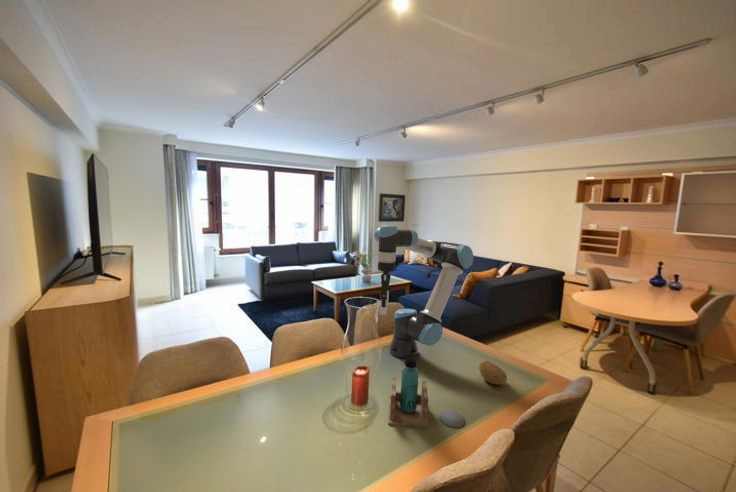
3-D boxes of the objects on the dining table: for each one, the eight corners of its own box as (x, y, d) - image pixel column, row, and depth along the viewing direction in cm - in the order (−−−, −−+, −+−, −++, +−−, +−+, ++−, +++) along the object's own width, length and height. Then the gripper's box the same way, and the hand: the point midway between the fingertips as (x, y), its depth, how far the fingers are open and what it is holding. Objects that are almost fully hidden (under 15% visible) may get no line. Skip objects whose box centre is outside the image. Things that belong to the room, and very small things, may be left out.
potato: (494, 392, 136) (496, 374, 135) (473, 375, 149) (474, 359, 148) (512, 388, 140) (514, 371, 139) (489, 372, 153) (491, 356, 152)
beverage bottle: (396, 412, 118) (399, 361, 116) (402, 403, 124) (405, 354, 122) (413, 418, 115) (416, 365, 113) (419, 408, 121) (422, 358, 119)
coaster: (438, 410, 122) (438, 409, 122) (462, 412, 121) (462, 411, 121) (440, 426, 113) (440, 424, 113) (466, 429, 112) (466, 427, 112)
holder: (390, 398, 129) (391, 375, 127) (425, 401, 127) (427, 378, 126) (388, 424, 113) (389, 398, 112) (428, 429, 111) (430, 403, 110)
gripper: (380, 256, 150) (378, 300, 153) (375, 265, 126) (372, 318, 128) (396, 257, 149) (393, 301, 152) (394, 267, 125) (391, 319, 127)
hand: (384, 309), depth 140 cm, fingers open, 13 cm apart
